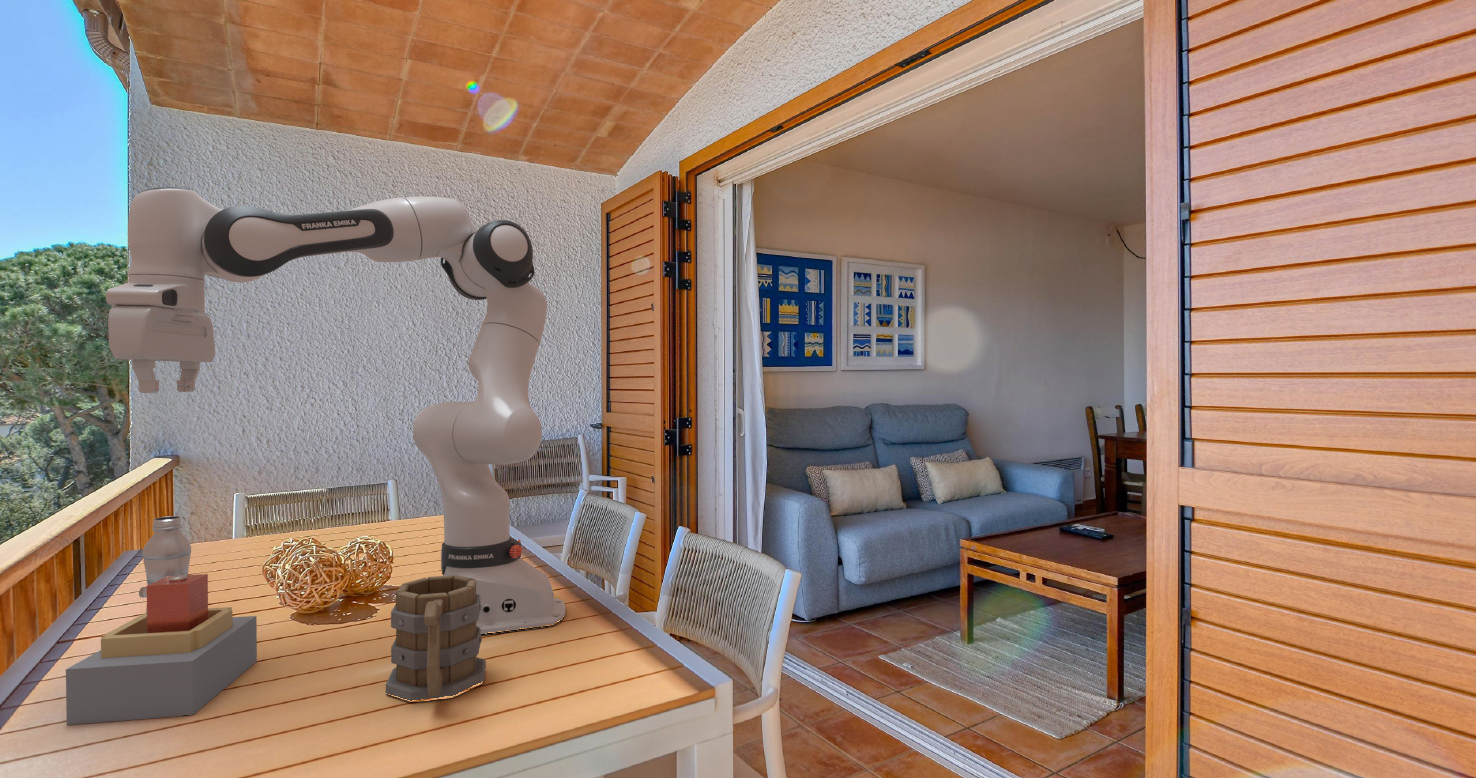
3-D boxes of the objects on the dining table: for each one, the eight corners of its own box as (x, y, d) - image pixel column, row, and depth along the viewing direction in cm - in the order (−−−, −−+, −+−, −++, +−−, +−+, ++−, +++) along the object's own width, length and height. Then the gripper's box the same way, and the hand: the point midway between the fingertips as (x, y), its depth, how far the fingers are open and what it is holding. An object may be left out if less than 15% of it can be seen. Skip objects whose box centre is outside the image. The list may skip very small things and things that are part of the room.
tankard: (397, 670, 108) (396, 569, 108) (487, 661, 111) (486, 563, 111) (368, 733, 89) (367, 611, 88) (478, 720, 92) (477, 602, 92)
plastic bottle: (166, 646, 117) (165, 522, 117) (132, 643, 119) (130, 520, 118) (203, 632, 124) (202, 515, 123) (170, 629, 125) (169, 513, 125)
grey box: (262, 656, 113) (262, 595, 113) (192, 714, 93) (192, 641, 93) (160, 663, 110) (159, 600, 110) (66, 724, 91) (65, 649, 91)
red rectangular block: (208, 629, 104) (207, 571, 104) (188, 642, 99) (188, 580, 99) (153, 632, 103) (152, 573, 103) (131, 645, 98) (130, 583, 98)
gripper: (182, 305, 117) (183, 391, 117) (96, 289, 97) (97, 393, 97) (226, 305, 118) (227, 391, 118) (150, 290, 98) (151, 393, 98)
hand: (168, 392), depth 107 cm, fingers open, 8 cm apart
